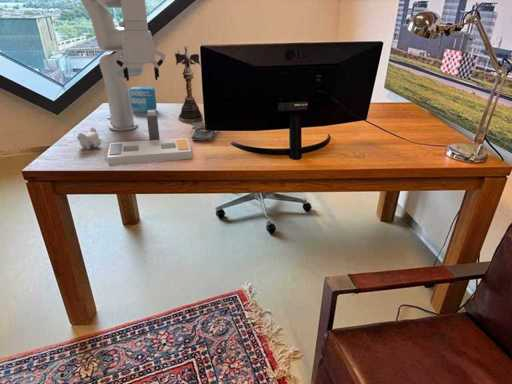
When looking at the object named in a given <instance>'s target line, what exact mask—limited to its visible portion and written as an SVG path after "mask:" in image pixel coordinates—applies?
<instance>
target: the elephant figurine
mask: <svg viewBox="0 0 512 384" xmlns="http://www.w3.org/2000/svg"><path fill="white" fill-rule="evenodd" d="M76 139H77V140H78V142H79V144H80V147H81V148H82V149H86V150H90V149H92V148H97V147H100V146H101V142H102V143H104V141H103V140H102V139H101V138H100V137H99V134H98V132H97V129H96V128H95V127H90V129H89V132H86V133H84V134H83V133H81V132H80V133H78V135H77V137H76Z"/></svg>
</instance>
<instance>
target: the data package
mask: <svg viewBox="0 0 512 384" xmlns="http://www.w3.org/2000/svg"><path fill="white" fill-rule="evenodd" d="M129 92H130V99H131V106H132V113H148V110H155V111H156V110H157V99H156V98H157V97H156V90H155V88H154V87H151V86H132V87H131V88H129Z"/></svg>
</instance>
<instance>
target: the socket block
mask: <svg viewBox="0 0 512 384" xmlns="http://www.w3.org/2000/svg"><path fill="white" fill-rule="evenodd" d="M191 149H192V148H191V147H190V143H189V141H188V138H187V137H181V138H166V139H160V140H150V139H149V140H137V141H133V140H132V141H120V142H118V141H117V142H110V143H109V147H108V151H107V163H108V166H113V165H124V164H139V163H140V164H141V163H150V162H151V163H152V162H163V161H175V160H188V159H189V160H190V159H192V150H191Z"/></svg>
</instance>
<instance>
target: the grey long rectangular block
mask: <svg viewBox="0 0 512 384" xmlns="http://www.w3.org/2000/svg"><path fill="white" fill-rule="evenodd" d="M158 121H159V120H158V113H157V112H156V110H148V112H146V122H147V128H148V129H147V130H148V139H149V140H161V139H160V130H159V122H158Z"/></svg>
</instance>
